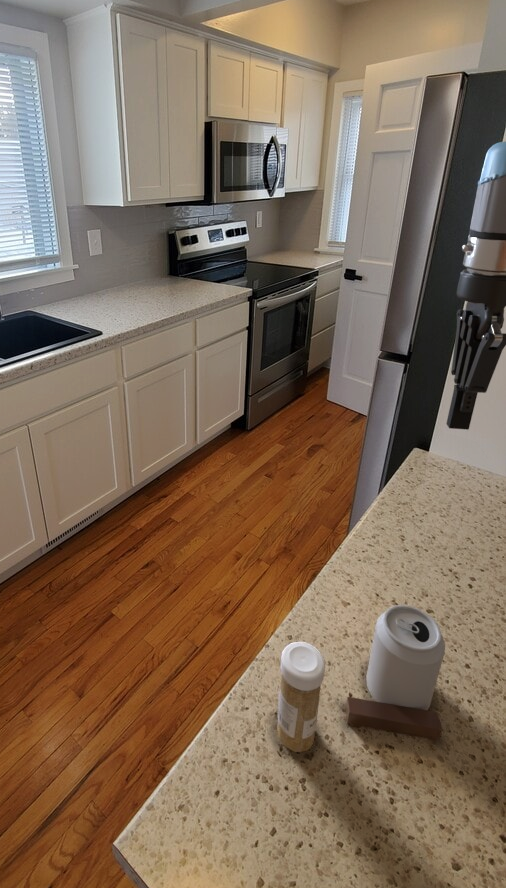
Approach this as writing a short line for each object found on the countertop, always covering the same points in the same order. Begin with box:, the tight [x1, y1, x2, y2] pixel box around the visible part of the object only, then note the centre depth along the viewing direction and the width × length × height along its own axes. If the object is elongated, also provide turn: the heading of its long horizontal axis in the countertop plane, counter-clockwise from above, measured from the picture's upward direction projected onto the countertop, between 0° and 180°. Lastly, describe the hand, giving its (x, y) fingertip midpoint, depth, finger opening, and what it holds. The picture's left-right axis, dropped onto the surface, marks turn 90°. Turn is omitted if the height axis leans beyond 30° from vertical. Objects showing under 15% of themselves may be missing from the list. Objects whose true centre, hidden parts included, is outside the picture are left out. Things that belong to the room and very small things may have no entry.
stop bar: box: [344, 696, 443, 742], centre depth 57 cm, size 10×2×3 cm, turn 79°
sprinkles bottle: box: [276, 641, 326, 753], centre depth 54 cm, size 5×5×14 cm
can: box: [365, 604, 446, 711], centre depth 59 cm, size 8×8×12 cm
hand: (457, 426), depth 74 cm, fingers closed
